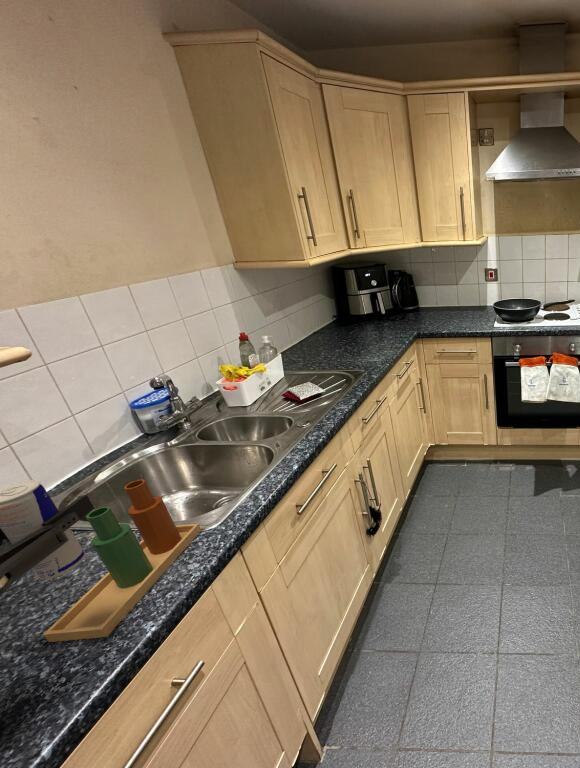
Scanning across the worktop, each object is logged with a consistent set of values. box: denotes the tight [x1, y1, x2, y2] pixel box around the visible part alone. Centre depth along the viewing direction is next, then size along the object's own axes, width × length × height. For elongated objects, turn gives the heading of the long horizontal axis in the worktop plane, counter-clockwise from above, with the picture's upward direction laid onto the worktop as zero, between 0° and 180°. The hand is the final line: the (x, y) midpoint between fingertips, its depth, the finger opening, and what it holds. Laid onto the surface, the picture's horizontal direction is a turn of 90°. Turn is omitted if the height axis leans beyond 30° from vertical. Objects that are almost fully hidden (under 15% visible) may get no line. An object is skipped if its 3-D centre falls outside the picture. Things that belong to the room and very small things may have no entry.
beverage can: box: [0, 479, 87, 581], centre depth 61 cm, size 6×6×15 cm
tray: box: [43, 523, 203, 643], centre depth 77 cm, size 9×24×2 cm, turn 3°
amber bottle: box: [124, 479, 182, 555], centre depth 81 cm, size 5×5×16 cm
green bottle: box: [85, 506, 153, 588], centre depth 74 cm, size 5×5×16 cm
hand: (68, 503), depth 66 cm, fingers closed on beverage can, 6 cm apart
